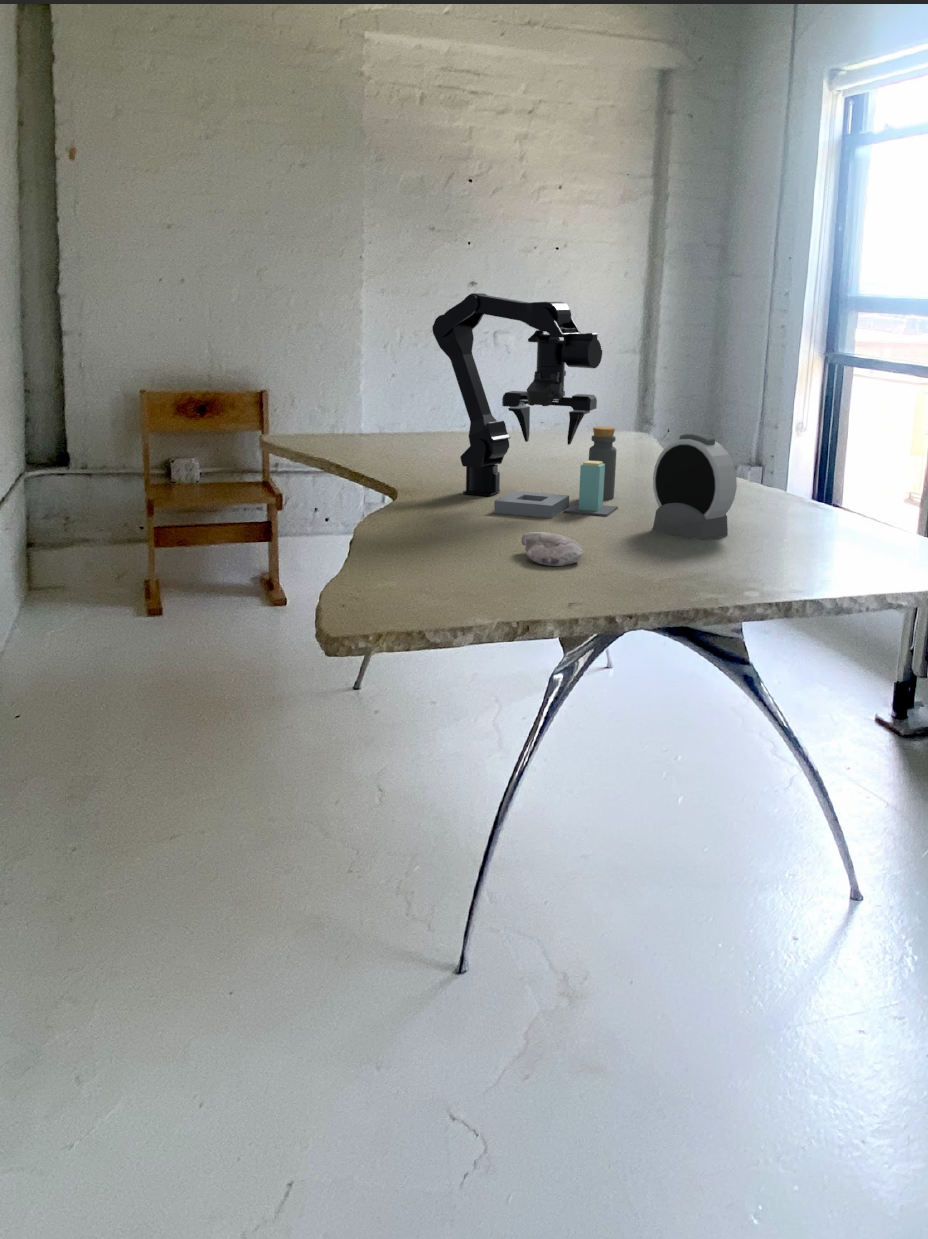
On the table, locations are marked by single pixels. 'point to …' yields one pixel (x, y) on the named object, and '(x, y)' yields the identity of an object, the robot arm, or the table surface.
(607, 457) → the bottle
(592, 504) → the plug
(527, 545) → the fossil
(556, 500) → the grey square socket block
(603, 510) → the pad
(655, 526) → the alarm clock
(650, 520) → the table surface
